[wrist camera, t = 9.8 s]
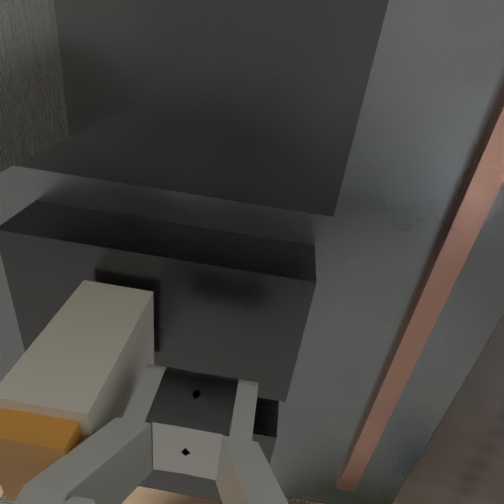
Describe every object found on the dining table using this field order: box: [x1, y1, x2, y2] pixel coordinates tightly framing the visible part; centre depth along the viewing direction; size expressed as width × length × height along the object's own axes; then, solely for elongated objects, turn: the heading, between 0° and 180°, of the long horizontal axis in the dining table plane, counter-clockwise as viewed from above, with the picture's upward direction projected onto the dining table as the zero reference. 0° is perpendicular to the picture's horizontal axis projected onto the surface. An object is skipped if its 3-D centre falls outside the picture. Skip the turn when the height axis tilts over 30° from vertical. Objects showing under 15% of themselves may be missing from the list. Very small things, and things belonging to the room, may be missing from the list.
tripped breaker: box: [0, 280, 154, 502], centre depth 10 cm, size 2×3×5 cm, turn 173°
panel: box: [0, 0, 504, 504], centre depth 12 cm, size 22×24×8 cm
